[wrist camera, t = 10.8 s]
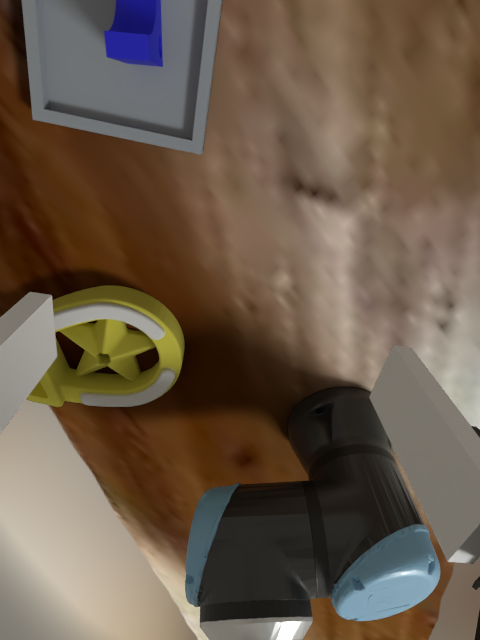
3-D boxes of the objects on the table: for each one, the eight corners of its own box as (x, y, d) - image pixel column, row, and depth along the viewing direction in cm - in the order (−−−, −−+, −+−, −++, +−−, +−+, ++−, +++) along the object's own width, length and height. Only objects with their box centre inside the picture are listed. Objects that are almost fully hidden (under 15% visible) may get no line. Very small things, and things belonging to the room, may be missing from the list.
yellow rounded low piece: (1, 295, 44) (-24, 316, 39) (170, 277, 43) (163, 297, 38) (52, 395, 52) (37, 421, 48) (194, 382, 51) (191, 407, 47)
